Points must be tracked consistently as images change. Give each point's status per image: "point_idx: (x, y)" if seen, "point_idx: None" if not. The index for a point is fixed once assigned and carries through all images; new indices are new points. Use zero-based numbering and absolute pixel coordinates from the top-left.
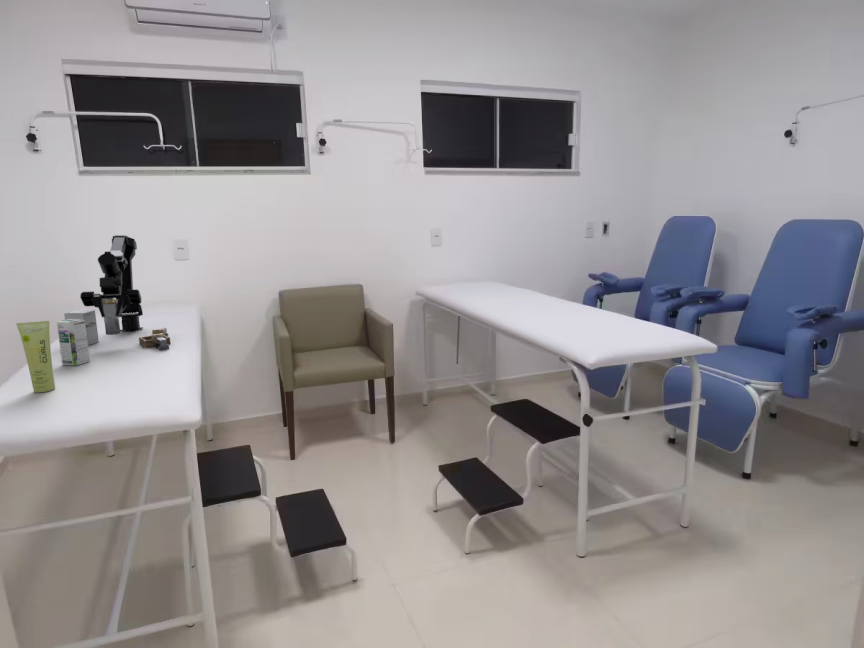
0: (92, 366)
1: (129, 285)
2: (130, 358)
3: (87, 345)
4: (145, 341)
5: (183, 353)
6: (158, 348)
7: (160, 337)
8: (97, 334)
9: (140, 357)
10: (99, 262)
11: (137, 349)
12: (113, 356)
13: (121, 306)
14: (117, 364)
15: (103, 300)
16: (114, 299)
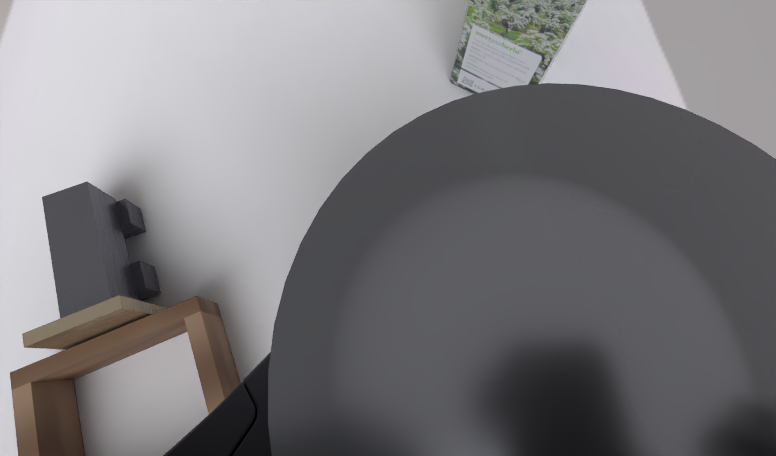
0: (413, 12)
1: None
2: (279, 86)
3: (467, 10)
4: (194, 298)
5: (34, 101)
6: (139, 222)
7: (72, 282)
8: None
9: (236, 90)
10: None
11: (264, 275)
12: (367, 148)
13: (236, 387)
14: (320, 11)
15: (680, 151)
16: (330, 222)
